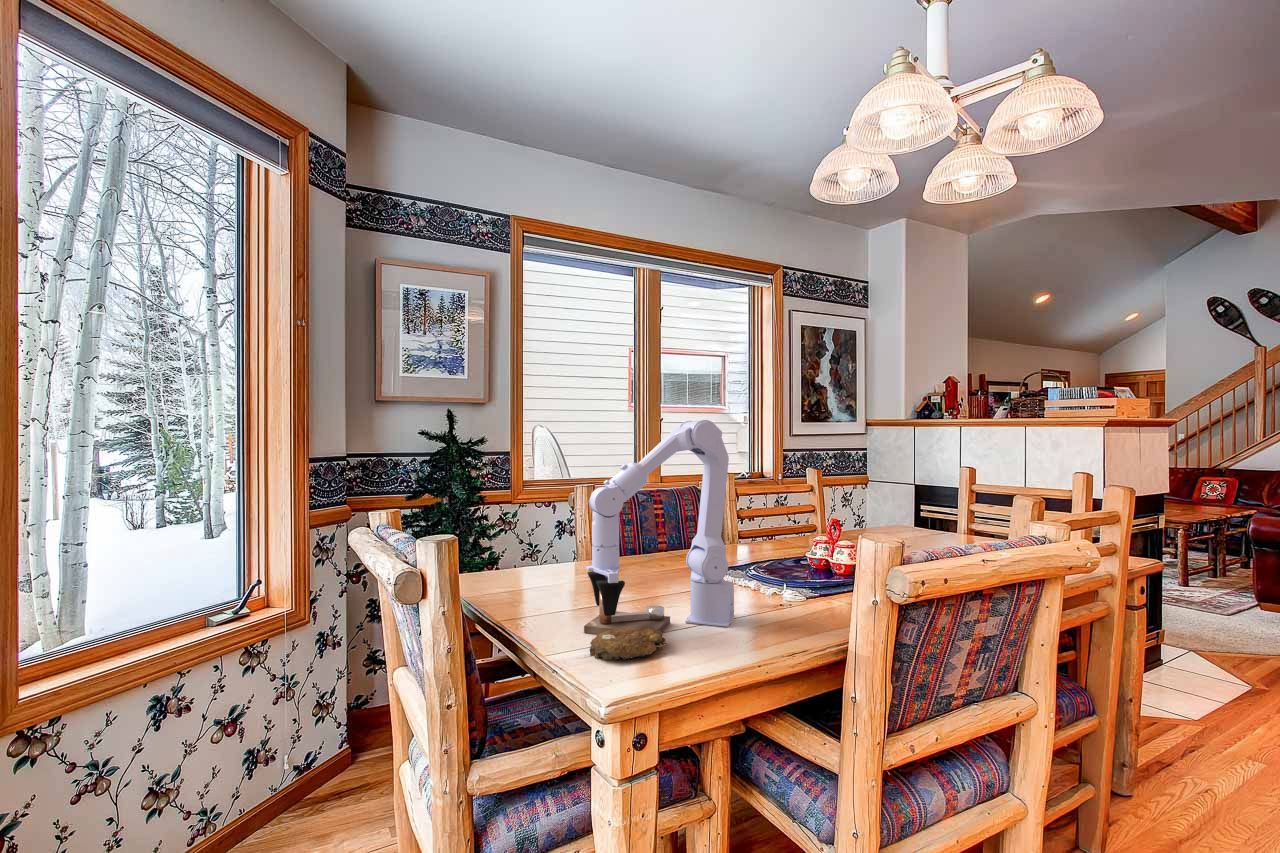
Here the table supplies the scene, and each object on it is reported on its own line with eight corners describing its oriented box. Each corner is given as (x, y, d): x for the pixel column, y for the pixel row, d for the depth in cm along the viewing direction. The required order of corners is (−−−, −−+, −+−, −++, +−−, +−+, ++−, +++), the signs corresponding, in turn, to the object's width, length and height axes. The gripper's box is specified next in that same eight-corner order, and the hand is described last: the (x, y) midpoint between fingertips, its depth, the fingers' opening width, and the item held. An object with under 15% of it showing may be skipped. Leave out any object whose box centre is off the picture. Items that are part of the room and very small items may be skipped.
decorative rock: (645, 638, 126) (580, 655, 118) (644, 618, 126) (579, 634, 118) (679, 652, 116) (610, 671, 108) (677, 630, 116) (609, 647, 108)
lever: (660, 614, 135) (660, 584, 135) (666, 618, 131) (666, 588, 131) (597, 619, 131) (597, 588, 131) (601, 624, 127) (601, 592, 127)
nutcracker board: (670, 623, 134) (670, 616, 134) (653, 640, 123) (653, 632, 123) (605, 617, 139) (605, 609, 139) (584, 633, 127) (584, 625, 127)
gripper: (580, 540, 135) (580, 602, 135) (594, 552, 121) (593, 621, 121) (611, 538, 137) (611, 600, 137) (628, 550, 123) (628, 618, 123)
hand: (605, 610), depth 129 cm, fingers open, 7 cm apart
